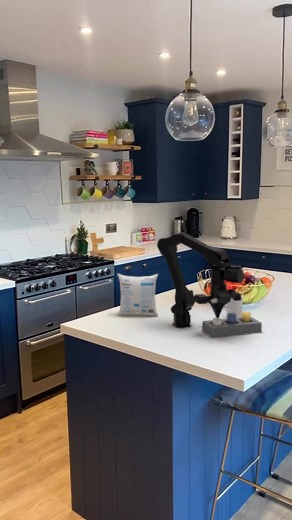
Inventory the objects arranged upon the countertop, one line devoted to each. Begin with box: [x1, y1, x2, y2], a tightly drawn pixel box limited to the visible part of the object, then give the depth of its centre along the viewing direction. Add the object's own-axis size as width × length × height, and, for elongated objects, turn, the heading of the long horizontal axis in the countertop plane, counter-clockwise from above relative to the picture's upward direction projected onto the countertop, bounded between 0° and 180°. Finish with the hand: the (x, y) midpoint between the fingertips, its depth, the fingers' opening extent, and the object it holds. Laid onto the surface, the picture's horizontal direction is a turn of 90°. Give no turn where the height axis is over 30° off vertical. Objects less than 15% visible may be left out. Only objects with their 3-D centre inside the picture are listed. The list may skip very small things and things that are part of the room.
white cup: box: [225, 294, 244, 318], centre depth 207 cm, size 8×8×10 cm
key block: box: [201, 316, 263, 339], centre depth 188 cm, size 22×10×4 cm, turn 106°
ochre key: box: [241, 311, 252, 323], centre depth 189 cm, size 4×4×4 cm
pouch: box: [117, 273, 159, 317], centre depth 212 cm, size 8×19×20 cm, turn 79°
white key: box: [212, 317, 223, 326], centre depth 186 cm, size 4×4×4 cm
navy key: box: [226, 313, 236, 324], centre depth 187 cm, size 4×4×4 cm
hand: (217, 317), depth 185 cm, fingers closed
